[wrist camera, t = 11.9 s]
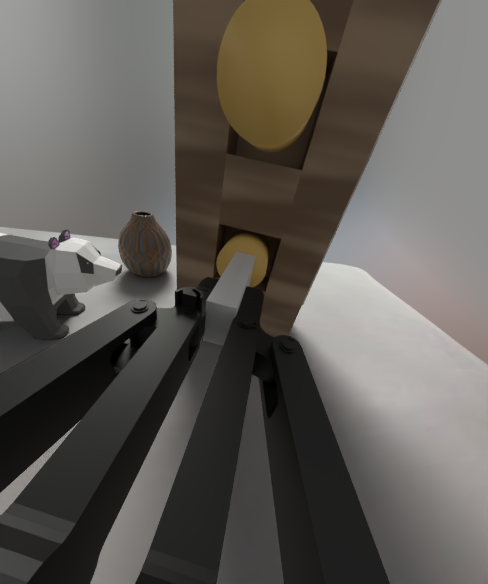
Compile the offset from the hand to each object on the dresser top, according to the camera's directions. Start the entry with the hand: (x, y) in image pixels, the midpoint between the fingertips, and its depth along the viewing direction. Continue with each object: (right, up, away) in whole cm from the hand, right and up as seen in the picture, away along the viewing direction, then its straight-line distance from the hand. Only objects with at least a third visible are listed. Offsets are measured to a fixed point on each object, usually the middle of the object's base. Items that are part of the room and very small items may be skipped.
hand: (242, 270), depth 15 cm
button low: (0, 0, +3) cm, 3 cm away
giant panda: (-20, -5, +5) cm, 21 cm away
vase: (-15, +1, +16) cm, 22 cm away
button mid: (+1, +6, -5) cm, 8 cm away
